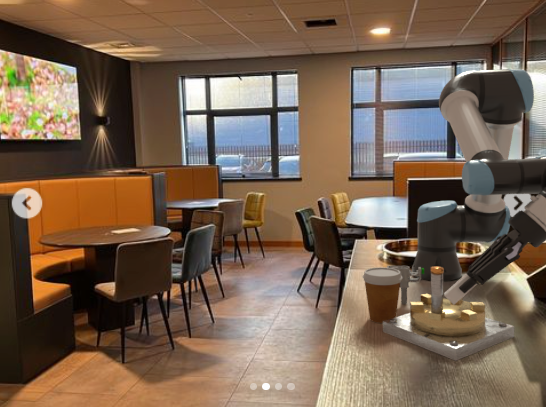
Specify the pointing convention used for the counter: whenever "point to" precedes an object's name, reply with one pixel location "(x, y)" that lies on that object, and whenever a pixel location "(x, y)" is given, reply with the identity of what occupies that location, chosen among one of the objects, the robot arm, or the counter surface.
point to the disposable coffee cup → (382, 292)
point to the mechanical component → (407, 279)
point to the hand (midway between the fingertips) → (448, 298)
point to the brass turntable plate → (446, 311)
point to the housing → (449, 337)
